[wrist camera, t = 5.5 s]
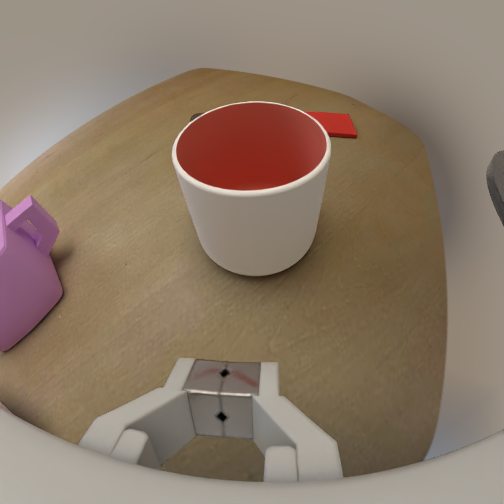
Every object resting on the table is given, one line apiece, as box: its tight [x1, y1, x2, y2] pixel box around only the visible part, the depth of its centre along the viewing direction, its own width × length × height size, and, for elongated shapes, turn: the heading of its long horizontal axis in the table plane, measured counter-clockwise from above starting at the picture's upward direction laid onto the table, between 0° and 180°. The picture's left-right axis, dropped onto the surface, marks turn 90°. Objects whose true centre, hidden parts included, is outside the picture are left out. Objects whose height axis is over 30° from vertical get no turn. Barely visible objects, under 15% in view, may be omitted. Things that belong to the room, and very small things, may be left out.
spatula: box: [190, 111, 357, 138], centre depth 33 cm, size 21×5×2 cm, turn 88°
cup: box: [172, 102, 331, 276], centre depth 21 cm, size 10×10×10 cm
